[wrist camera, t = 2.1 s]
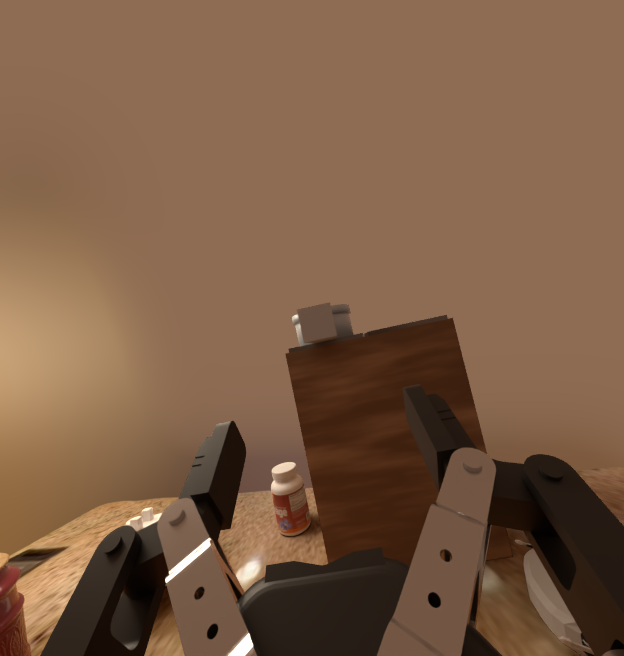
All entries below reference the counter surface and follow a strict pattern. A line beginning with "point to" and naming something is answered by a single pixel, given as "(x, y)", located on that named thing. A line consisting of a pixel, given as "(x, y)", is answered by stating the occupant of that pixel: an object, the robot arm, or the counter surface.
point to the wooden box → (378, 433)
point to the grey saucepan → (322, 323)
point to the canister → (11, 612)
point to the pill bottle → (289, 500)
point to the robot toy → (552, 604)
